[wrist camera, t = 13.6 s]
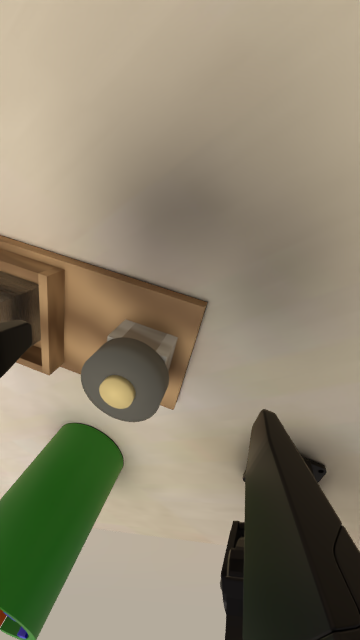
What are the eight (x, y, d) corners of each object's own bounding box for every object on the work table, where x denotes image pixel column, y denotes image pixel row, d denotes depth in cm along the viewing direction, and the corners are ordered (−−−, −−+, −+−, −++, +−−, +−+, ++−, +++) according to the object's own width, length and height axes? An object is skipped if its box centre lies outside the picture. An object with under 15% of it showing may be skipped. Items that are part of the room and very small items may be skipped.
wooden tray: (176, 401, 27) (163, 435, 23) (-7, 332, 30) (-46, 351, 26) (207, 302, 21) (197, 325, 18) (-23, 228, 24) (-75, 233, 20)
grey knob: (171, 388, 25) (149, 439, 19) (111, 365, 25) (74, 409, 20) (187, 334, 22) (165, 377, 16) (118, 310, 22) (77, 344, 17)
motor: (49, 431, 36) (-146, 653, 18) (89, 414, 32) (-111, 676, 14) (95, 479, 38) (-40, 718, 20) (138, 468, 34) (15, 752, 17)
